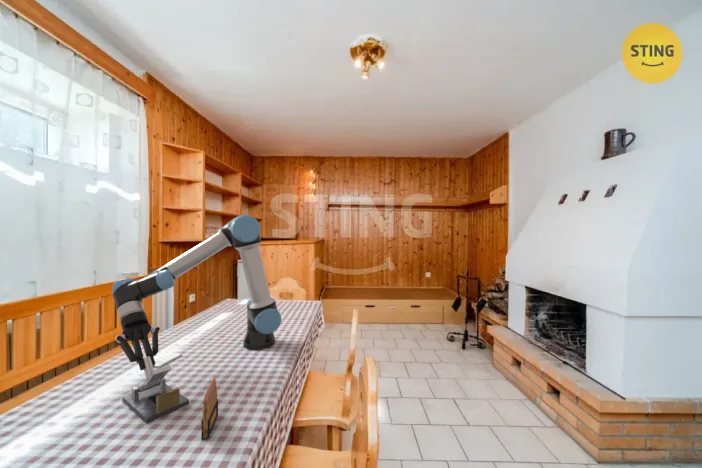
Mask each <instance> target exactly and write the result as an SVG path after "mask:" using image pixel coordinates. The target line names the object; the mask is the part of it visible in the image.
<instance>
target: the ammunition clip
mask: <svg viewBox="0 0 702 468" xmlns="http://www.w3.org/2000/svg"><path fill="white" fill-rule="evenodd" d="M217 388H218V387H217V379H216V378H215V377H213V379H212V380H211V383H210V384H209V387H208V389H206V392H205V394H204V398H203V408H202V419H201V440H209V439H210V437H211V435H212V432H213V429H214V427H215V424H216V421H217V419H218V417H219V398H218V389H217Z"/></svg>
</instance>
